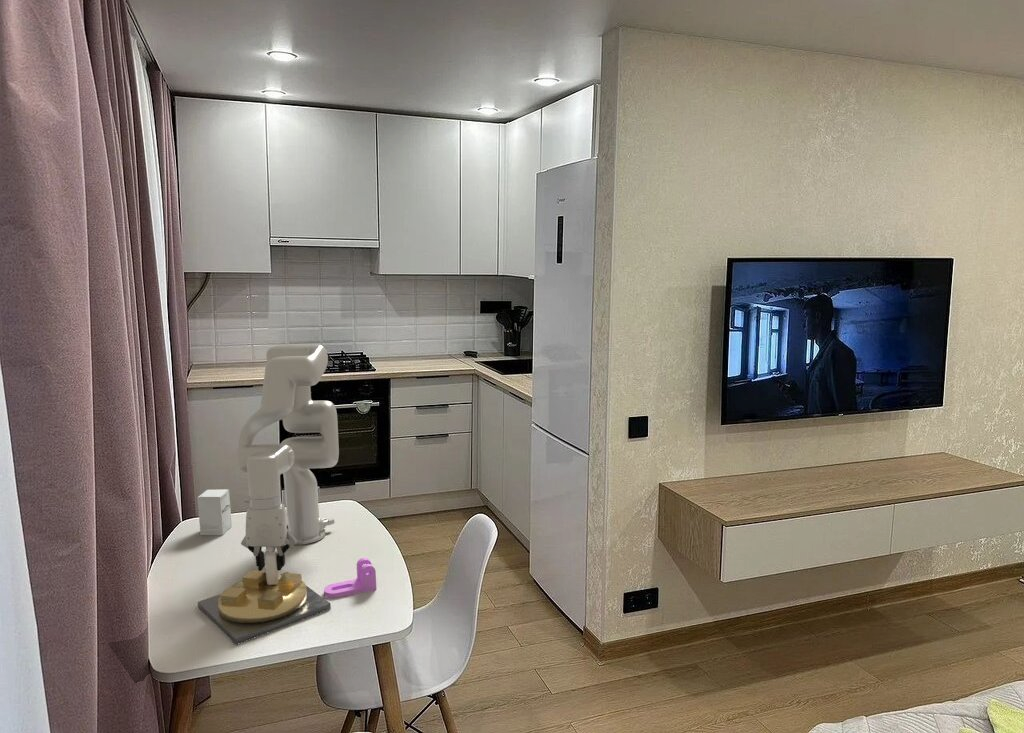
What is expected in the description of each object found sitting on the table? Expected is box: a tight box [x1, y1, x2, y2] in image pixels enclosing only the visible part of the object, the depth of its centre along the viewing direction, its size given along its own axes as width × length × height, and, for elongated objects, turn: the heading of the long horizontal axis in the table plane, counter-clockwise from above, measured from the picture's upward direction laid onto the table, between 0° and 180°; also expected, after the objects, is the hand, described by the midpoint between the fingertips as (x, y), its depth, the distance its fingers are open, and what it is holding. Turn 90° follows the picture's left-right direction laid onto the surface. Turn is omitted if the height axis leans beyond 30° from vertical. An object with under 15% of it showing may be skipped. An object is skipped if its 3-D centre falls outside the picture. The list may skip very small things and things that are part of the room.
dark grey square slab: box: [197, 571, 332, 645], centre depth 189 cm, size 24×24×2 cm
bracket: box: [323, 557, 377, 599], centre depth 197 cm, size 13×6×7 cm, turn 114°
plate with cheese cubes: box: [218, 569, 307, 623], centre depth 188 cm, size 21×21×4 cm
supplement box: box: [196, 488, 233, 536], centre depth 237 cm, size 7×7×13 cm
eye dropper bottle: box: [264, 547, 281, 585], centre depth 194 cm, size 4×6×12 cm
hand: (271, 567), depth 194 cm, fingers open, 4 cm apart
